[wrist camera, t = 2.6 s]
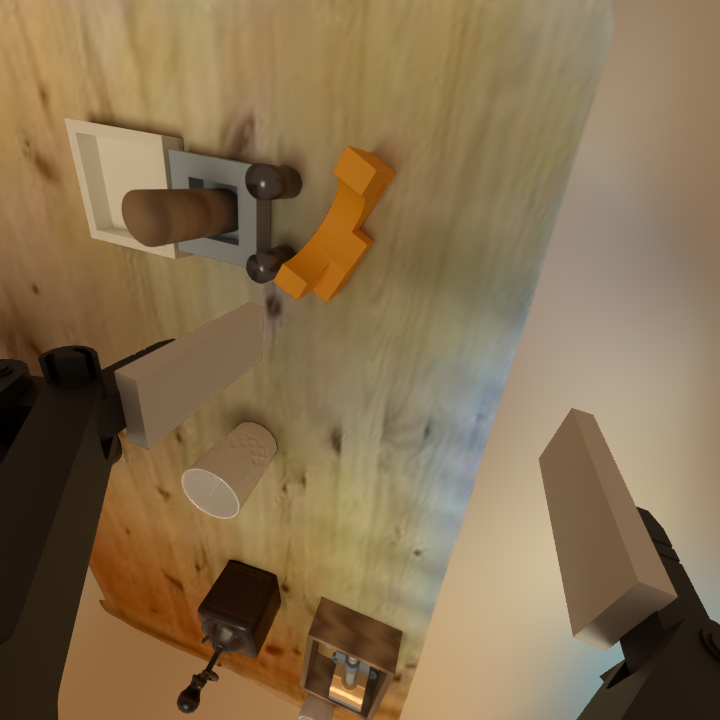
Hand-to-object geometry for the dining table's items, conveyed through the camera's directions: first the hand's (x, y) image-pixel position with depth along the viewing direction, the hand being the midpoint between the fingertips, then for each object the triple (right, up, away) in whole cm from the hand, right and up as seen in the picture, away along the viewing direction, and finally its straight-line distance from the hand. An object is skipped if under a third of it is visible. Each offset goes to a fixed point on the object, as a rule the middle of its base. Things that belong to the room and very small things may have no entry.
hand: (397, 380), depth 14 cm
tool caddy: (-3, -54, +52) cm, 75 cm away
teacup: (-11, -81, +68) cm, 106 cm away
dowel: (-15, +16, +20) cm, 29 cm away
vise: (-2, -55, +52) cm, 76 cm away
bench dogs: (-9, +14, +19) cm, 25 cm away
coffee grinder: (-22, -45, +54) cm, 74 cm away
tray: (-25, +19, +22) cm, 38 cm away
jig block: (-15, +16, +20) cm, 29 cm away
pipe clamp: (-2, +13, +18) cm, 22 cm away
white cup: (-16, -11, +34) cm, 39 cm away
